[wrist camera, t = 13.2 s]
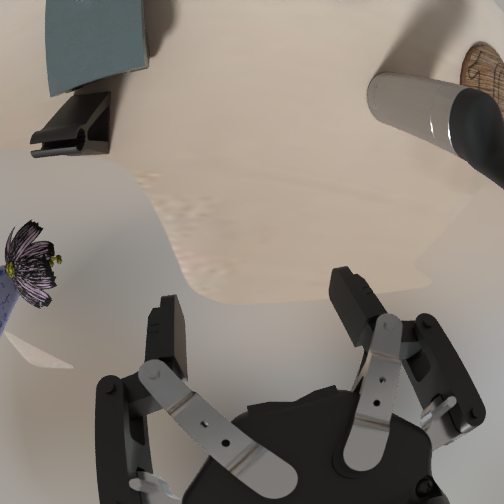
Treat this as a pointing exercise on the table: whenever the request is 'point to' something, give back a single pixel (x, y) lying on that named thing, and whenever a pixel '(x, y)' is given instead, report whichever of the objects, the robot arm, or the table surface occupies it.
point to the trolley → (93, 41)
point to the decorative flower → (31, 264)
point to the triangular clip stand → (76, 128)
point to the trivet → (484, 73)
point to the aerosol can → (6, 298)
